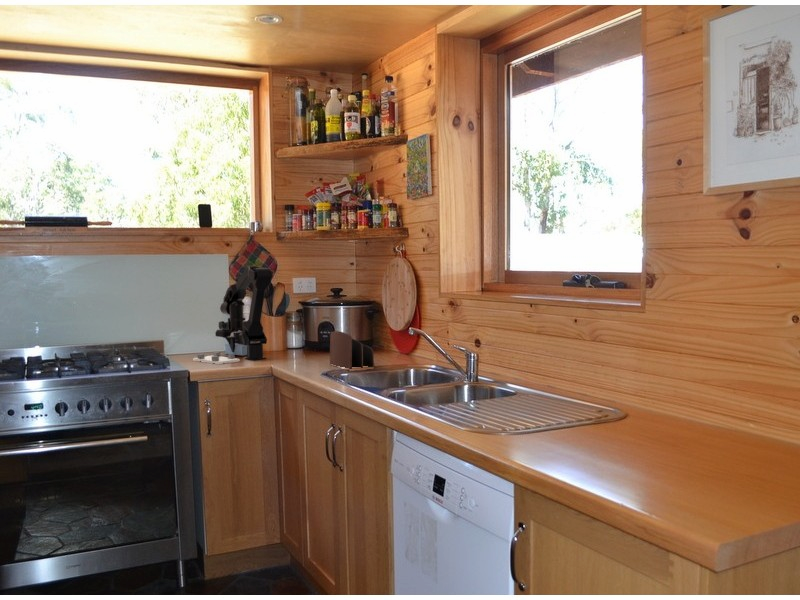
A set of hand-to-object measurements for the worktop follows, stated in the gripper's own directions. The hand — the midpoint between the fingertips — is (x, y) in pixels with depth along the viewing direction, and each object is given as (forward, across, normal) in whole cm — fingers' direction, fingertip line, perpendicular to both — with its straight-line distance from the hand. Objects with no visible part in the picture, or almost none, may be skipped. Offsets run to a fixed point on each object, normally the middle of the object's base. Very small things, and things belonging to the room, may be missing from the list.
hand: (237, 351), depth 313 cm
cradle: (+2, +16, +7) cm, 18 cm away
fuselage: (+1, 0, 0) cm, 1 cm away
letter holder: (+2, -6, +64) cm, 64 cm away
